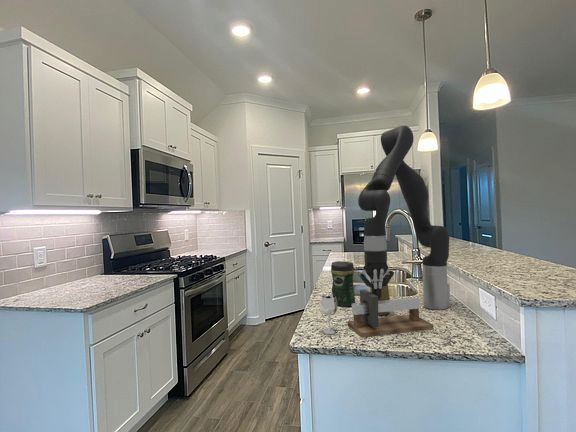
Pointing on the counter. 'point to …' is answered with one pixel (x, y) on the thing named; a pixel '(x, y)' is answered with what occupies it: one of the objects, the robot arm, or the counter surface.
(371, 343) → the counter surface
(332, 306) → the wineglass
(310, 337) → the counter surface
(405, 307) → the grey square bar
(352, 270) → the coffee jar
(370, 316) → the dark grey flat piece
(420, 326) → the board
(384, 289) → the squeeze bottle
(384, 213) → the robot arm
